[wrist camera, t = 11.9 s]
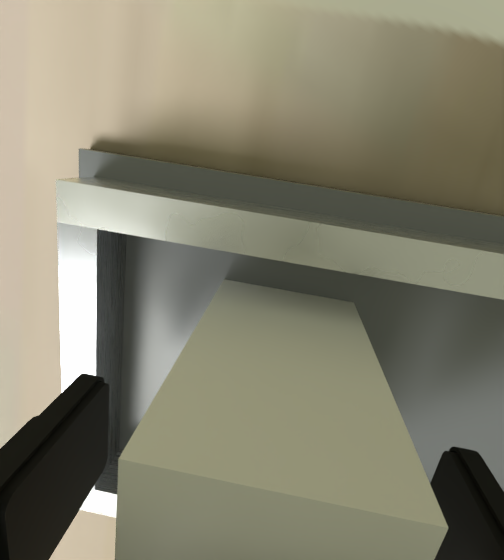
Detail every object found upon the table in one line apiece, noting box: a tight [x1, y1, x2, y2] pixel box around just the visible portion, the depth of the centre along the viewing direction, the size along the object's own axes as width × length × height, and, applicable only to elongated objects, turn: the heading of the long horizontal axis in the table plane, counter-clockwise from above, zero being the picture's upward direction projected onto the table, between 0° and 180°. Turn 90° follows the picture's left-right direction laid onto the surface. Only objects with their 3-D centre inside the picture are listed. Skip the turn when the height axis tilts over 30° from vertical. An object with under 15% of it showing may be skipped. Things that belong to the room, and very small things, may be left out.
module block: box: [115, 279, 448, 560], centre depth 10 cm, size 4×7×8 cm, turn 172°
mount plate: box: [79, 149, 504, 491], centre depth 14 cm, size 22×14×1 cm, turn 82°
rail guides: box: [56, 176, 504, 517], centre depth 12 cm, size 21×12×2 cm, turn 82°
